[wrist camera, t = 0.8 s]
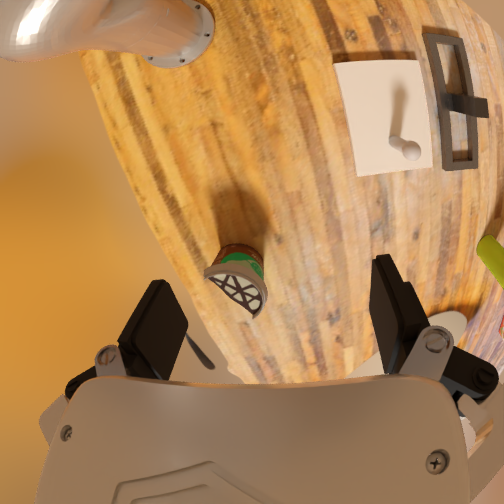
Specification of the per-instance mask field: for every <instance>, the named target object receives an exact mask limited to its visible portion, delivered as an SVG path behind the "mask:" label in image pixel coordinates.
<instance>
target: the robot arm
mask: <svg viewBox="0 0 504 504" xmlns="http://www.w3.org/2000/svg"><path fill="white" fill-rule="evenodd" d="M199 7H200V9H198V8H199ZM214 32H215V23H214V18H213V16H212V14H211V12H210V11H209V10H208V9H207V8H206V7H205V6H204V5H202V4H201V3H199V2H197V1H194V0H0V57H1V58H3V59H6V60H9V61H14V62H32V61H39V60H45V59H49V58H53V57H56V56H60V55H63V54H67V53H71V52H74V51H79V50H108V51H117V52H125V53H133V54H140V55H142V57H143V58H144V59H145V60H146V61H147V62H148V63H150V64H152V65H154V66H157V67H161V68H177V67H181V66H184V65H187V64H189V63H191V62H193V61H194V60H196V59H197V58H198V57H200V56H201V55H202V54H203V53H204V52H205V51H206V50H207V48H208V47H209V45H210V44H211V41H212V39H213V36H214ZM208 34H210V35H209V36H208V37H207V35H208ZM152 57H153V59H152ZM184 59H185V61H184V62H183V60H184ZM369 310H370V315H371V319H372V323H373V326H374V330H375V334H376V338H377V343H378V347H379V351H380V355H381V360H382V364H383V369H384V373H385V375H375V376H366V377H358V378H349V379H340V380H329V381H318V382H305V383H288V384H241V385H240V384H209V383H191V382H178V381H168V380H169V377H170V375H171V372H172V370H173V367H174V364H175V361H176V358H177V356H178V353H179V350H180V347H181V345H182V342H183V339H184V337H185V334H186V331H187V329H188V321H187V319H186V317H185V315H184V313H183V311H182V309H181V307H180V305H179V303H178V301H177V299H176V297H175V295H174V293H173V291H172V289H171V286H170V284H169V283H168V282H166V281H165V280H163V279H161V280H153V281H152V282H151V283H150V285H149V287H148V288H147V290H146V292H145V293H144V295H143V297H142V298H141V300H140V302H139V303H138V305H137V307H136V309H135V310H134V312H133V313H132V315H131V317H130V319H129V320H128V322H127V324H126V326H125V328H124V329H123V331H122V333H121V335H120V336H119V338H118V340H117V341H118V343H119V346H118V347H117V346H116V345H107V346H105V347H103V348H102V349H101V350H100V351H99V352H98V353H97V355H96V357H95V366H93V367H91V368H90V369H88V370H86V371H85V372H83V373H81V374H80V375H78V376H76V377H75V378H73V379H72V380H70V381H69V382H68V384H67V386H66V389H65V395H63V394H62V395H61V396H60V397H59V398H58V399H57V400H55V401H54V403H52V404H51V406H49V407H48V409H46V410H45V411H44V412H43V414H42V415H41V416H40V419H39V424H40V428H41V430H42V432H43V434H44V436H45V438H46V440H47V442H48V444H49V446H50V448H49V450H48V454H47V457H46V460H45V463H44V466H43V469H42V473H41V477H40V480H39V484H38V488H37V493H36V497H35V502H34V504H470V502H471V501H472V500H473V499H474V498H475V497H476V496H477V495H478V494H479V493H480V492H481V491H482V489H484V488H485V486H486V485H487V484H488V483H489V482H490V481H491V480H492V478H493V477H494V476H495V475H496V473H497V472H498V471H499V470H500V469H501V467H502V466H503V465H504V383H503V385H502V384H501V383H500V382H499V381H498V380H499V376H498V372H497V370H496V368H495V367H494V366H493V365H492V364H490V363H488V362H486V361H484V360H482V359H480V358H478V357H476V356H474V355H472V354H470V353H468V352H466V351H464V350H462V349H460V348H458V347H455V346H453V345H454V339H453V336H452V334H451V333H450V332H449V331H448V330H447V329H446V328H444V327H441V326H430V323H429V321H428V319H427V316H426V314H425V312H424V310H423V307H422V305H421V303H420V301H419V299H418V297H417V295H416V292H415V290H414V288H413V286H412V284H411V283H410V282H409V281H408V282H403V280H402V278H401V276H400V274H399V272H398V270H397V268H396V266H395V264H394V262H393V260H392V258H391V256H390V254H384V255H377V256H376V259H373V260H372V273H371V289H370V302H369ZM388 373H389V374H388ZM459 416H461V417H467V418H468V420H470V425H471V426H472V427H473V429H474V430H475V432H476V440H475V444H474V445H473V447H472V448H471V449H470V450H469V451H468V452H467V450H466V444H465V438H464V433H463V428H462V424H461V420H460V417H459ZM428 455H429V456H428ZM437 459H438V460H437ZM439 462H440V463H439ZM437 474H438V475H437Z"/></svg>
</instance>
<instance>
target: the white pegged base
mask: <svg viewBox="0 0 504 504" xmlns="http://www.w3.org/2000/svg"><path fill="white" fill-rule="evenodd" d="M332 65H333V68H334V72H335V76H336V80H337V83H338V87H339V92H340V96H341V100H342V105H343V109H344V114H345V119H346V123H347V129H348V134H349V139H350V145H351V151H352V157H353V164H354V171H355V175H356V176H357V177H360V176H367V175H374V174H381V173H388V172H395V171H403V170H411V169H420V168H429V167H433V164H432V146H431V134H430V124H429V116H428V108H427V101H426V95H425V89H424V84H423V79H422V74H421V69H420V65H419V61H418V60H370V61H355V62H343V63H334V64H332Z"/></svg>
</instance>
